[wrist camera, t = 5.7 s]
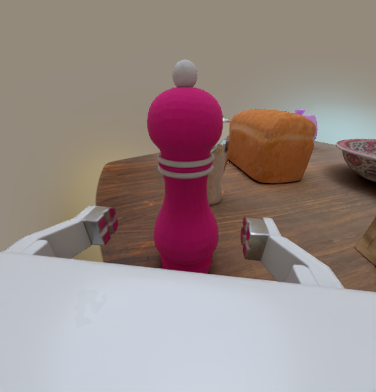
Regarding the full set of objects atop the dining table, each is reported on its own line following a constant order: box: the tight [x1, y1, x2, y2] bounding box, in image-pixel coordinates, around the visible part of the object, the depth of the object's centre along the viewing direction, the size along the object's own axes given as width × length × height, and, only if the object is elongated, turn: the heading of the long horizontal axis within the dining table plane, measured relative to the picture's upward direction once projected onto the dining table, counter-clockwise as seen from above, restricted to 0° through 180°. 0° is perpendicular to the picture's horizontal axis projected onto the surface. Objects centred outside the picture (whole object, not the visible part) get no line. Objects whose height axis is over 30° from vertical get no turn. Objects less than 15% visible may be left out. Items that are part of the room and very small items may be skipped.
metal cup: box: [207, 118, 232, 205], centre depth 32 cm, size 7×7×15 cm
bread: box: [228, 109, 316, 183], centre depth 49 cm, size 14×26×16 cm, turn 9°
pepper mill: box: [147, 60, 223, 274], centre depth 16 cm, size 7×7×20 cm
